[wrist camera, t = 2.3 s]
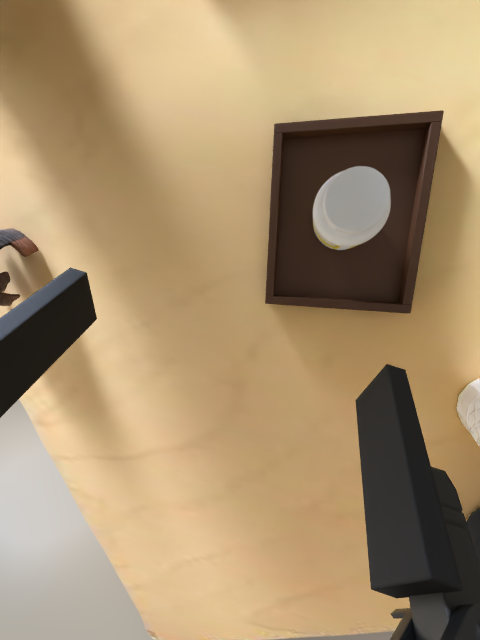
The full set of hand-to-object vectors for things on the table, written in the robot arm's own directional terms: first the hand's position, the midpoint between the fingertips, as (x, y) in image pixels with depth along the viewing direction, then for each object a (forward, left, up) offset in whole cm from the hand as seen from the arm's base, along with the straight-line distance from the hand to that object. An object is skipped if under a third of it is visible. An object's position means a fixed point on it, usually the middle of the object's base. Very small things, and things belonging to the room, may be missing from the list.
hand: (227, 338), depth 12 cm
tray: (-7, +6, -19) cm, 21 cm away
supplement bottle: (-7, +6, -19) cm, 21 cm away
